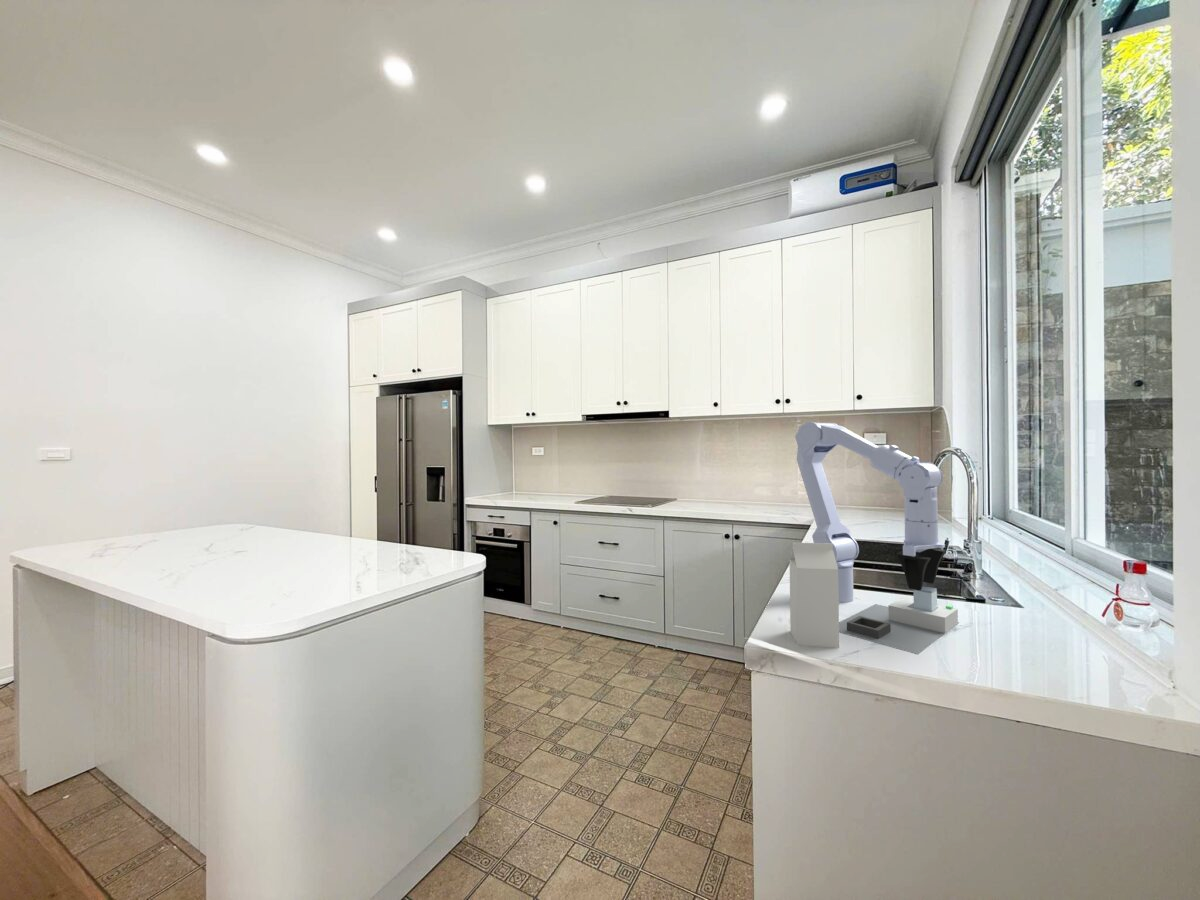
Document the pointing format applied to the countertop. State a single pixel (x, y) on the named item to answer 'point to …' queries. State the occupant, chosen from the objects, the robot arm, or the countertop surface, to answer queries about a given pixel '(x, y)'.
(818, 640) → the milk carton
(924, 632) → the panel
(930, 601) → the plug
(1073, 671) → the countertop surface
